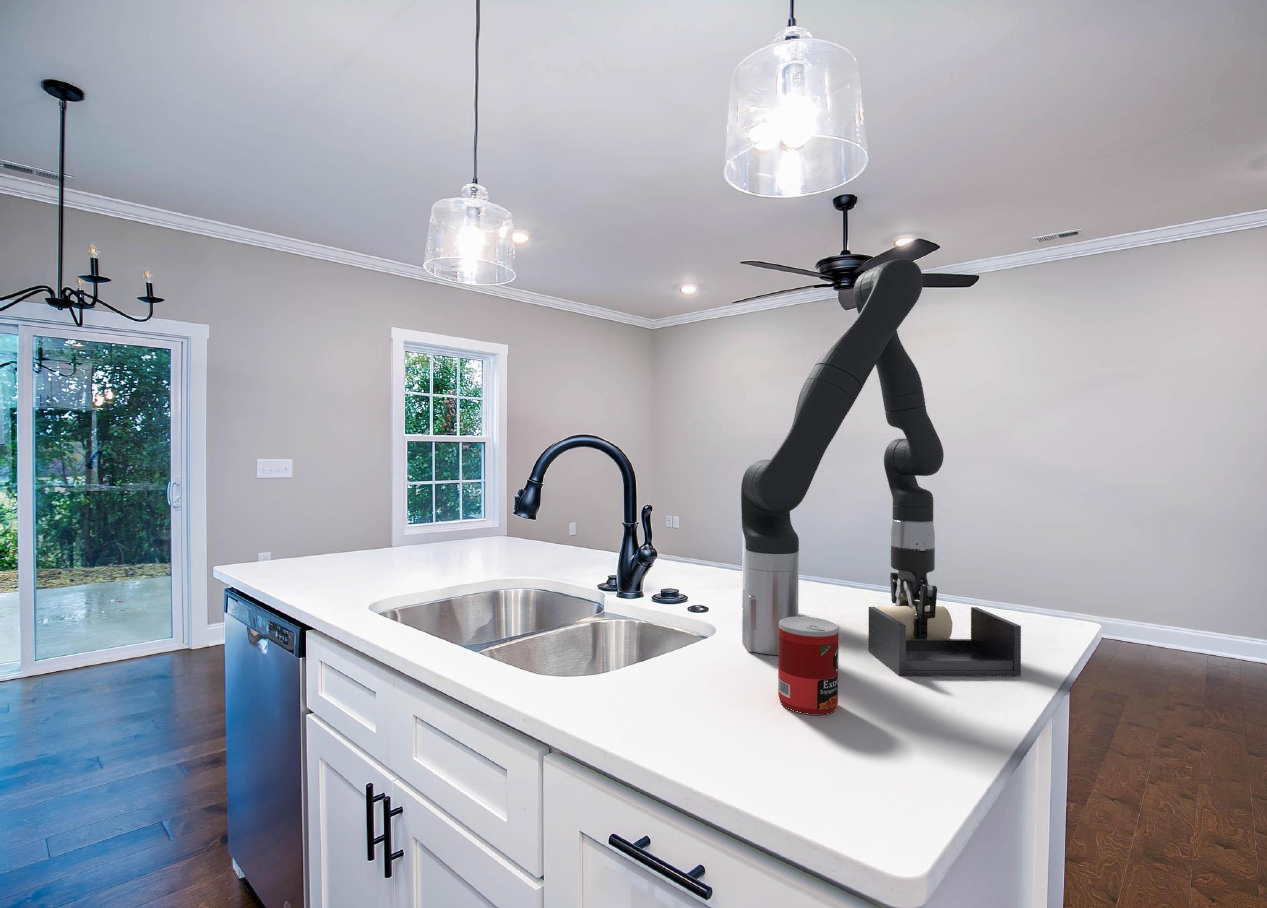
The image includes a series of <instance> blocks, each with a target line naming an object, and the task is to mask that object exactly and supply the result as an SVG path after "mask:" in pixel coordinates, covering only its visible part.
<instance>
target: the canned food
mask: <svg viewBox="0 0 1267 908" xmlns="http://www.w3.org/2000/svg"><path fill="white" fill-rule="evenodd" d="M839 631H840V630H839V626H838V625H837V624H836V623H835V622H833V621H830V620H827V619H824V618H819V617H811V616H810V617H809V616H798V617H788V618H784V619H781V620H780V621H779V632H778V655H777V657H778V658H777V659H778V660H777V661H778V665H777V669H778V670H777V672H778V674H777V676H778V677H777V678H778V680H777V681H778V683H777V685H778V686H777V687H778V689H777V691H778V693H777V694H778V698H779V699H778V700H779V703H780V704H781V703H782V704H781V705H782V706H783V707H785V708H786V707H787V708H786V709H788V708H789V709H792V710H794V711H793V712H795V711H798V712H801V713H800V714H802V713H808V714H825V715H828V714H827V713H829V714H832V713H834V712H835V711H836V710H837V707H838V704H839V657H840V656H839V646H840V643H839V641H840V638H839V635H840V633H839ZM789 709H788V710H789ZM835 709H836V710H835ZM792 710H791V711H792ZM798 712H797V713H798ZM831 712H832V713H831ZM808 714H807V715H808Z"/></svg>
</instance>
